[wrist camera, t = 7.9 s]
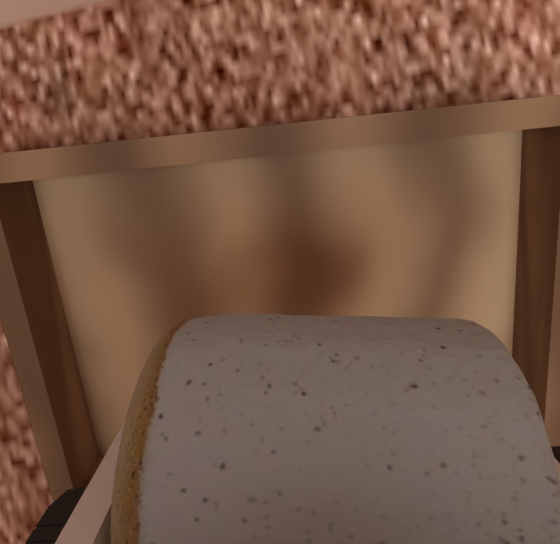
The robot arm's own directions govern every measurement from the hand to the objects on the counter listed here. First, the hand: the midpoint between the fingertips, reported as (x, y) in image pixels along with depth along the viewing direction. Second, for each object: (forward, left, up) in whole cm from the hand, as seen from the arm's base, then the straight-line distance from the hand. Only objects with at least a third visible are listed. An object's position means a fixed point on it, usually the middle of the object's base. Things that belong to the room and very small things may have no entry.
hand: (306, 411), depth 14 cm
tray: (0, 0, -11) cm, 11 cm away
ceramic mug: (0, -1, -1) cm, 1 cm away
